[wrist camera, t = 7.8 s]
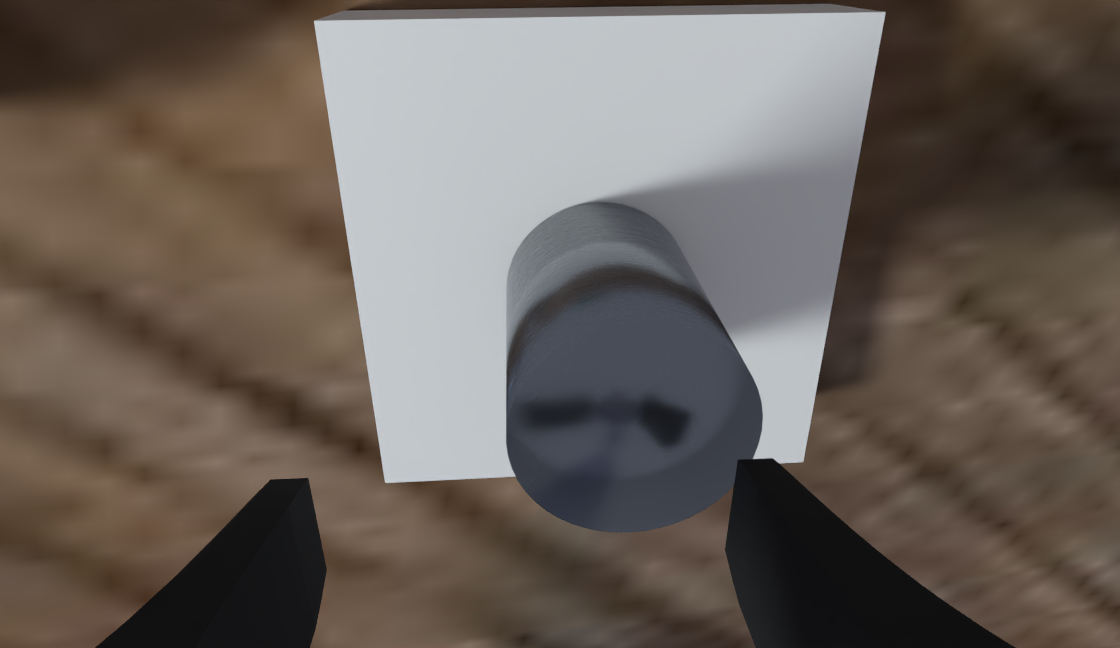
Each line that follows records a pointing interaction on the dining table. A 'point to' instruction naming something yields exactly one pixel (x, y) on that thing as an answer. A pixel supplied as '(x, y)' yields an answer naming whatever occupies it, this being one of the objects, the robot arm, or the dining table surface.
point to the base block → (587, 187)
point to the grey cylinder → (620, 375)
